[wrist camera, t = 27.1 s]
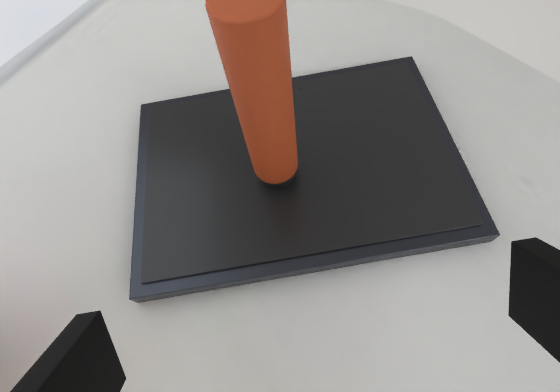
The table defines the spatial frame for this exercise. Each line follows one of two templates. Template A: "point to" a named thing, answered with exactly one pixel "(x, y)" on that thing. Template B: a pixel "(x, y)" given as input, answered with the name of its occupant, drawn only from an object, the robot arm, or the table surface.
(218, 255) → the plate
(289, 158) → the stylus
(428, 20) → the table surface
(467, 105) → the table surface
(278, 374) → the table surface
